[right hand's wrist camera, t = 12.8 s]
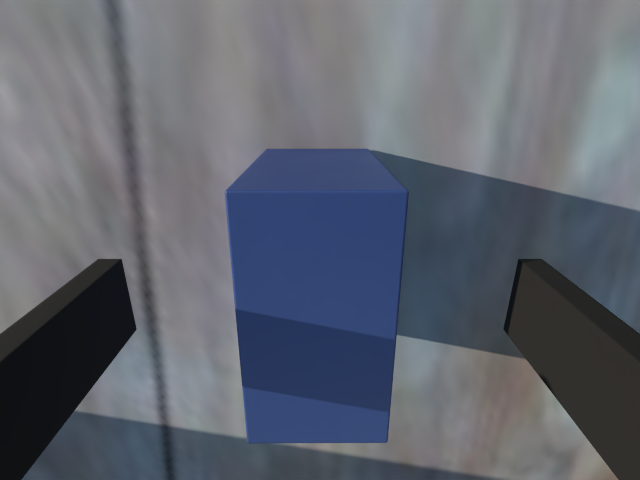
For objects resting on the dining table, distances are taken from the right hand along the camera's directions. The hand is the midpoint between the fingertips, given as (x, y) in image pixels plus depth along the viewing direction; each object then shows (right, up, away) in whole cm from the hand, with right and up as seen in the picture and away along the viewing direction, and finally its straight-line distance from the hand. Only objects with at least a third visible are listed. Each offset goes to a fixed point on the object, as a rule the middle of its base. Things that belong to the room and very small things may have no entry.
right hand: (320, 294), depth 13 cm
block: (0, +2, +7) cm, 7 cm away
